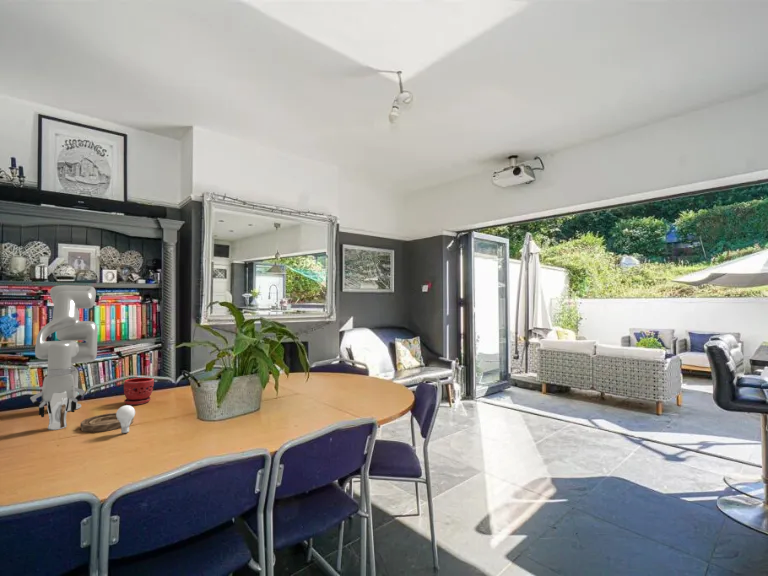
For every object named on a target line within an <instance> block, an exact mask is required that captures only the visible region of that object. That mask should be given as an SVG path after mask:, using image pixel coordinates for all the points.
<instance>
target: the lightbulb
mask: <svg viewBox="0 0 768 576" xmlns="http://www.w3.org/2000/svg"><path fill="white" fill-rule="evenodd" d="M115 413H116V417H117V419H118V420H119V422H120V425H121V428H120V429H121V430H120V431H121V432H120V433H122V434H127V433H129V432H130V425H131V424H130V423H131V420H132V419H133V417H134V418H135V415H136V409H135V408H134V407H133V406H132V405H129V404H126V405H122V406H120V407H119V408H118V409H117V411H116V412H115ZM133 420H134V419H133Z"/></svg>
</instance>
